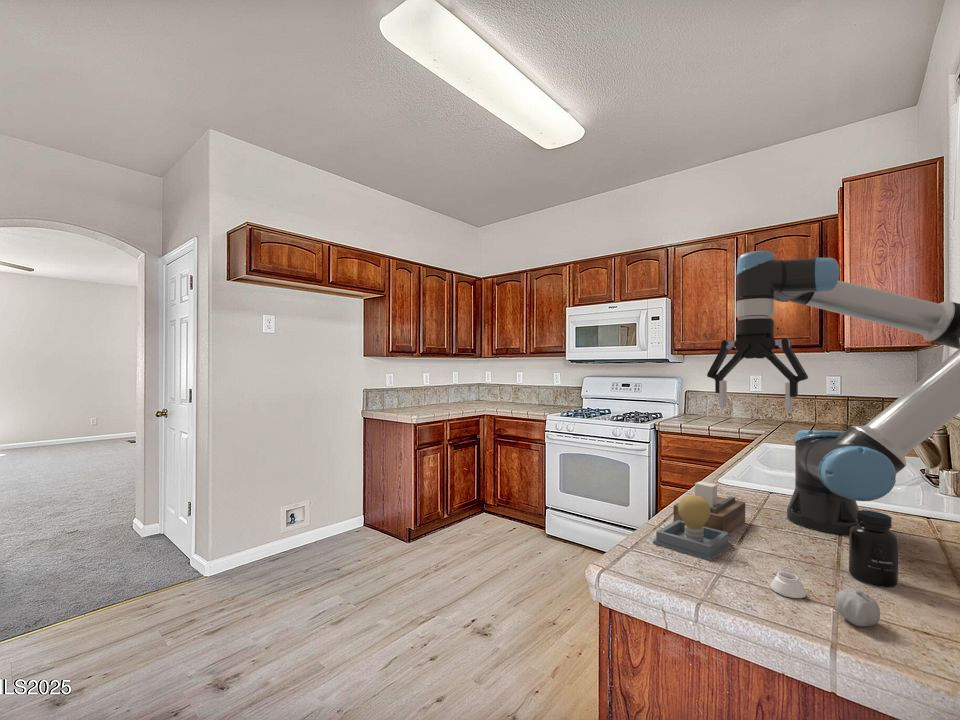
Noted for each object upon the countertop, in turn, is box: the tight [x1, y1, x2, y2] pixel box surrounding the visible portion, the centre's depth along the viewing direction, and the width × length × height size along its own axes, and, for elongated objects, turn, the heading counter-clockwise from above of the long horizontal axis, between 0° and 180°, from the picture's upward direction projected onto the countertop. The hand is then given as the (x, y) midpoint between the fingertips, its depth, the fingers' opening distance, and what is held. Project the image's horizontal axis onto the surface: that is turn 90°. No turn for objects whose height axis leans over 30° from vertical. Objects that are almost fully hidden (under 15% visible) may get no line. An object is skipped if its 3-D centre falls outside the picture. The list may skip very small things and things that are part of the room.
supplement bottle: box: [848, 509, 900, 588], centre depth 82 cm, size 7×7×12 cm
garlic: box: [834, 588, 881, 628], centre depth 69 cm, size 6×5×5 cm
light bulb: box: [678, 494, 711, 542], centre depth 98 cm, size 6×6×10 cm
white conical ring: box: [770, 571, 807, 599], centre depth 77 cm, size 5×3×5 cm
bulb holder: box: [652, 520, 733, 562], centre depth 98 cm, size 12×12×3 cm
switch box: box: [673, 495, 746, 535], centre depth 110 cm, size 11×16×6 cm
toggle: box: [694, 481, 718, 508], centre depth 108 cm, size 4×3×5 cm
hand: (754, 409), depth 105 cm, fingers open, 13 cm apart
